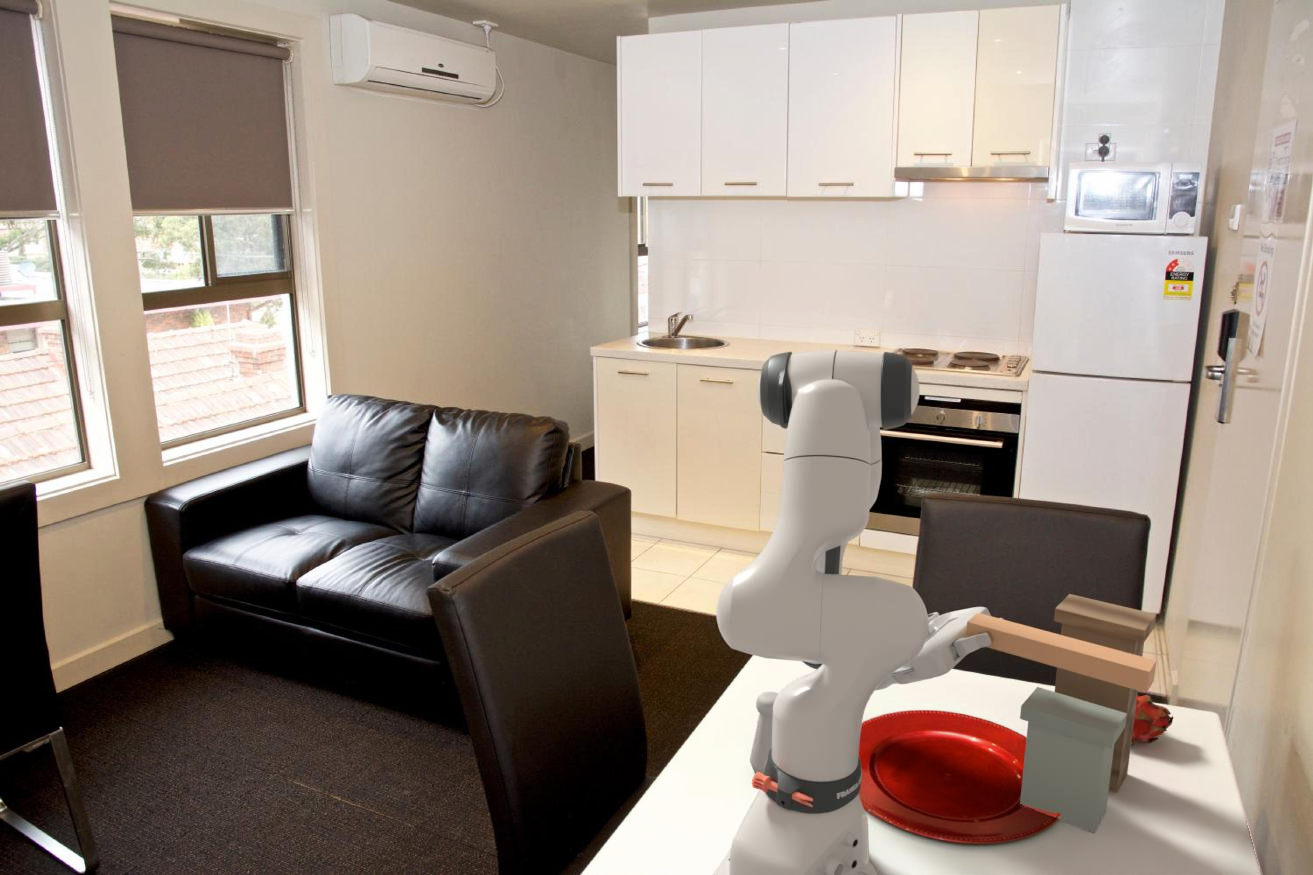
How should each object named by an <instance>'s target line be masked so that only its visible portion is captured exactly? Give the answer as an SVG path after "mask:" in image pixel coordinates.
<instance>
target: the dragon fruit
mask: <svg viewBox="0 0 1313 875" xmlns="http://www.w3.org/2000/svg"><path fill="white" fill-rule="evenodd" d="M1170 715H1172V712H1170V710H1169V709H1168V708H1167V707H1166V706H1162V705H1158V704H1156V703H1154V702H1153V701H1152V697H1151V695H1148V694H1145V695H1142V696H1141V695H1137V702H1136V710H1135V718H1134V726H1133V734H1132V741H1131V744H1132V745H1136V744H1137V743H1138V741H1142V742H1146V743H1147V744H1152V743H1154V742H1156V741H1158V740H1159V736H1160V735H1162V734H1163V733H1164V732H1167V731H1168V730H1167V729H1168V728H1170V727H1171V725H1172V724H1173V720H1174V716H1173V715H1172V716H1170Z"/></svg>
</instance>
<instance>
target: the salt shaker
mask: <svg viewBox="0 0 1313 875" xmlns="http://www.w3.org/2000/svg"><path fill="white" fill-rule="evenodd" d="M778 694H779V692H776V691H765V692H762V693H760V694H759V695H758V696H757V698H756V701H755V707H756V709H757V712H758V714H759V715H758V718H757V724H756V729H755V734H754V738H753V742H752V748H751V751H750V752H751V753H750V757H749V761H750V762H749V763H750V764H751V767H752V771H753V772H754V775H755V774H756V773H757V772H760V773H762V774H764V771H765V768H764V767H765V763H766V760H767V758H768V754H769V751H770V749H771V747H772V721H773V705H774V701H775V699H776V697H777V695H778Z"/></svg>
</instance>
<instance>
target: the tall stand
mask: <svg viewBox="0 0 1313 875" xmlns="http://www.w3.org/2000/svg"><path fill="white" fill-rule="evenodd" d="M1156 619H1157V613H1153V612H1148V611H1144V610H1140V609H1137V608H1131V607H1127V606H1122V605H1120V604H1119V605H1118V604H1115V603H1109V602H1105V601H1101V600H1097V599H1093V598H1088V597H1084V596H1080V595H1076V594H1071V593H1069V594H1068V595H1067V596H1066V597H1065V598H1064V599H1063V600H1062V601H1061V602H1060V603H1059V604H1058V605H1056V607H1055V608H1054V617H1053V622H1056V623H1060V624H1061V626H1060V628H1061V629H1060V635H1063V636H1067V637H1070V638H1074V639H1078V640H1082V641H1085V642H1089V643H1093V644H1097V645H1100V646H1104V647H1108V648H1112V649H1115V650H1119V651H1123V652H1126V653H1130V654H1134V655H1138V656H1141V657H1144V656H1143V655H1144V647H1145V641H1146V640H1147V639H1148V637H1149V636H1150V634H1151V633H1152V632H1153V631H1154V629H1155V626H1156ZM1055 675H1056V676H1055V683H1054V692H1056V693H1060V694H1063V695H1067V696H1070V697H1073V698H1077V699H1080V700H1083V701H1087V702H1090V703H1093V704H1097V705H1100V706H1103V707H1107V708H1110V709H1114V710H1117V711H1120V712H1124V713H1127V717H1126V725H1125V728H1124V730H1123V731H1122V733H1121V734H1120V736H1119V738H1118V739H1117V741H1116V742H1115V744H1114V750H1113V759H1112V767H1111V775H1110V783H1109V791H1112V792H1115V793H1118V791H1119V789H1120V788H1121V786H1122V785H1123V782H1124V781H1125V779H1126V777H1127V776H1128V772H1129V765H1130V764H1129V763H1130V755H1131V749H1132V748H1131V747H1132V743H1131V741H1132V734H1133V726H1134V718H1135V710H1136V702H1137V695H1138V692H1139V691H1138V690H1134V689H1131V688H1127V687H1124V686H1120V685H1117V684H1114V683H1110V682H1107V681H1103V680H1100V679H1096V678H1093V677H1089V676H1086V675H1082V674H1079V673H1075V672H1072V671H1068V670H1065V669H1061V668H1058V667H1056V674H1055ZM1138 696H1139V695H1138Z"/></svg>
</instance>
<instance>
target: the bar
mask: <svg viewBox="0 0 1313 875" xmlns="http://www.w3.org/2000/svg"><path fill="white" fill-rule="evenodd" d="M999 618H1000V617H995V616H992V615H991V616H988V615H984V614H981V613H977V614H975V615H974V616H973V617H972V618H971V619H970V620H969V621H968V622H967V630H966V638H967V637H970V636H974V635H977V634H978V633H980V632H985V631H990V632H991V634H992V637H993V639H994V641H993V642H992V644H991V645H990V646H987V647H986V648H989V649H992V650H996V651H999V652H1002V653H1003V652H1004V653H1006V654H1010V655H1013V656H1017V657H1020V658H1024V659H1028V660H1030V661H1033V662H1037V663H1041V664H1044V665H1047V666H1051V667H1055V668H1057V667H1058V668H1061V669H1065V670H1068V671H1072V672H1075V673H1079V674H1082V675H1086V676H1089V677H1093V678H1096V679H1100V680H1103V681H1107V682H1110V683H1114V684H1117V685H1120V686H1124V687H1127V688H1131V689H1134V690H1138V692H1142V693H1146V694H1147V693H1148V692H1149V690H1150V688H1151V686H1152V685H1153V683H1154V682H1155V676H1156V668H1157V660H1156V659H1152V658H1149V657H1145V656H1142V657H1141V656H1138V655H1134V654H1130V653H1126V652H1123V651H1119V650H1115V649H1112V648H1108V647H1104V646H1100V645H1097V644H1093V643H1089V642H1085V641H1082V640H1078V639H1074V638H1070V637H1067V636H1063V635H1061V634H1060V633H1054V632H1052V631H1047V630H1045V629H1040V628H1036V627H1033V626H1029V625H1025V624H1021V623H1019V622H1018V623H1017V622H1013V621H1010V620H1006V619H1004V618H1003V619H1004V620H1003V619H999Z"/></svg>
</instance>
